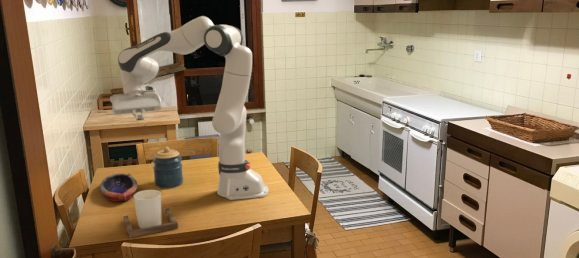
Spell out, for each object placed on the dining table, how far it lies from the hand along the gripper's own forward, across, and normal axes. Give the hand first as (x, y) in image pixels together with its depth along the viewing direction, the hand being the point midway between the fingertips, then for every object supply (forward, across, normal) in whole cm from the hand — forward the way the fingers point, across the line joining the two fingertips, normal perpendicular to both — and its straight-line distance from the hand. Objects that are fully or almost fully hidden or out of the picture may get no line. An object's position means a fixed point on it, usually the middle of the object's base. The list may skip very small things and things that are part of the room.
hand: (140, 119), depth 196 cm
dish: (+19, -11, +29) cm, 36 cm away
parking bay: (+46, -4, +1) cm, 46 cm away
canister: (+18, +11, +30) cm, 36 cm away
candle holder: (+47, -4, +1) cm, 47 cm away
